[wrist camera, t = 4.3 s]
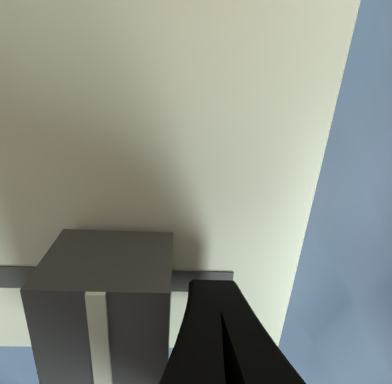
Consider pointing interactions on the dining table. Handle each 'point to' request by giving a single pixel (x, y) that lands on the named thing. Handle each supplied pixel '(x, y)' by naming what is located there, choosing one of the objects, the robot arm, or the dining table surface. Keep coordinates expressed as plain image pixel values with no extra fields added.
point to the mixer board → (167, 135)
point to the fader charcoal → (101, 307)
